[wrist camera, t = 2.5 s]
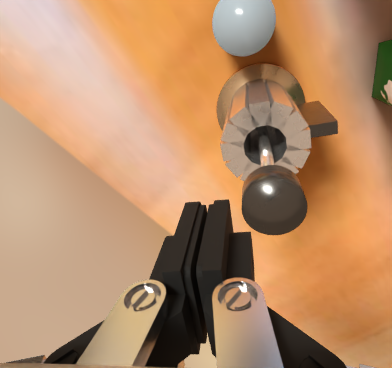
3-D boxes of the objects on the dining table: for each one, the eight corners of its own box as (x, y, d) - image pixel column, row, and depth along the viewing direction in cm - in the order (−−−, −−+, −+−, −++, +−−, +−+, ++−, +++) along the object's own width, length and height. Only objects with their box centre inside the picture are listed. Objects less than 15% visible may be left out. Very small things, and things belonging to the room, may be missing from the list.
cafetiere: (309, 52, 43) (341, 66, 29) (315, 140, 49) (344, 191, 34) (209, 73, 47) (191, 96, 32) (225, 154, 52) (216, 206, 37)
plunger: (279, 108, 37) (304, 176, 20) (283, 144, 38) (309, 232, 22) (241, 115, 38) (237, 185, 21) (247, 149, 39) (246, 237, 23)
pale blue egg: (267, -13, 41) (271, -23, 33) (273, 44, 44) (278, 48, 36) (214, 1, 42) (206, -5, 34) (223, 55, 45) (218, 62, 37)
